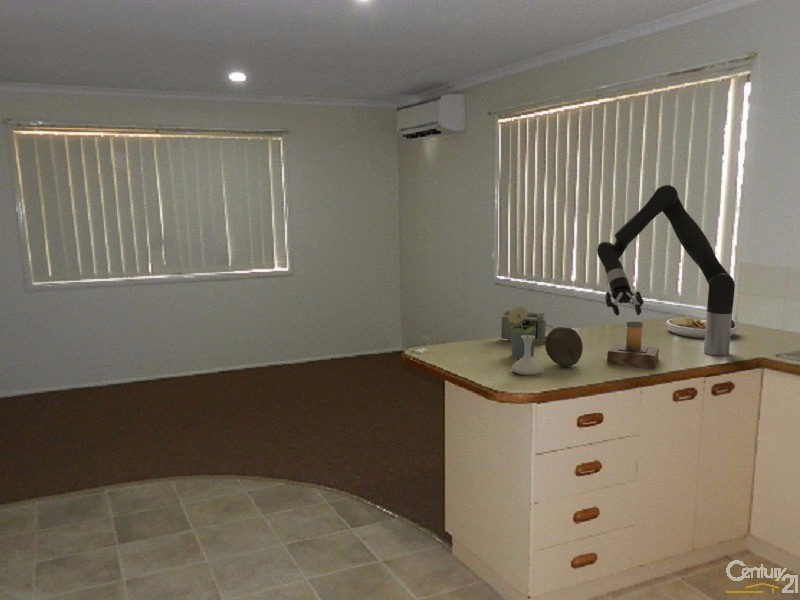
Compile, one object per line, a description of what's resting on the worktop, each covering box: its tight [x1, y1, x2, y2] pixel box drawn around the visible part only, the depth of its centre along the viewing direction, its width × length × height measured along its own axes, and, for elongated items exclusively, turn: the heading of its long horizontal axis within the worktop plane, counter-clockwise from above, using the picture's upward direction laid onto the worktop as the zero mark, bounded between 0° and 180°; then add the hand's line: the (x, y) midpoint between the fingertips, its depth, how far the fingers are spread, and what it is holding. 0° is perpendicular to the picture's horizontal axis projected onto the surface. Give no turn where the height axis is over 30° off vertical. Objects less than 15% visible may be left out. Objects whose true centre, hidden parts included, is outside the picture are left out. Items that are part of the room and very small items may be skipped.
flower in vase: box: [508, 305, 544, 376], centre depth 226 cm, size 13×11×25 cm
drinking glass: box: [510, 326, 536, 359], centre depth 253 cm, size 10×10×12 cm
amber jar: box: [625, 320, 644, 350], centre depth 244 cm, size 6×6×10 cm
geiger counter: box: [500, 309, 555, 345], centre depth 280 cm, size 14×6×25 cm
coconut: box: [544, 326, 584, 368], centre depth 238 cm, size 14×14×15 cm
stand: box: [606, 342, 660, 370], centre depth 245 cm, size 17×16×5 cm
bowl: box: [666, 317, 738, 340], centre depth 298 cm, size 30×30×8 cm
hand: (628, 314), depth 249 cm, fingers open, 8 cm apart
